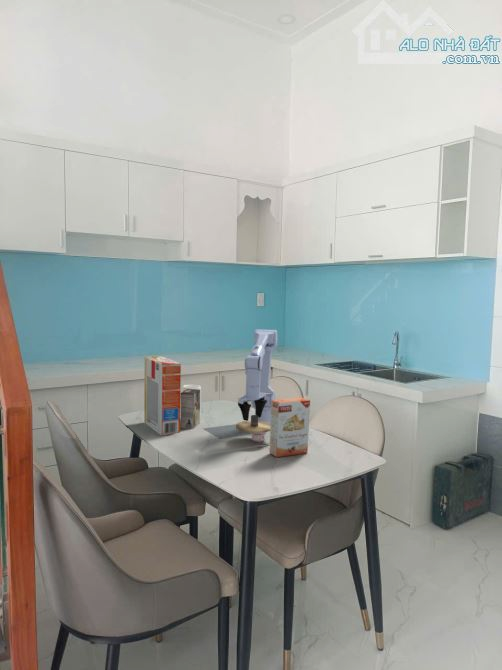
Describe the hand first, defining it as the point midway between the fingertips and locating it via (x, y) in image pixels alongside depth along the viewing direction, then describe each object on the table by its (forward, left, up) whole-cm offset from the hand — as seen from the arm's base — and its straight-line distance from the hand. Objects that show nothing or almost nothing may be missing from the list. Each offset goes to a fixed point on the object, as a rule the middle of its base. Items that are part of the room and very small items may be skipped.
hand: (252, 418), depth 207 cm
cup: (+8, -42, -10) cm, 44 cm away
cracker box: (-6, +18, -10) cm, 22 cm away
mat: (+2, -17, -10) cm, 20 cm away
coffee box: (+13, -32, -10) cm, 36 cm away
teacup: (-3, +1, -10) cm, 11 cm away
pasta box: (+25, -35, -10) cm, 45 cm away
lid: (-1, 0, -4) cm, 4 cm away
